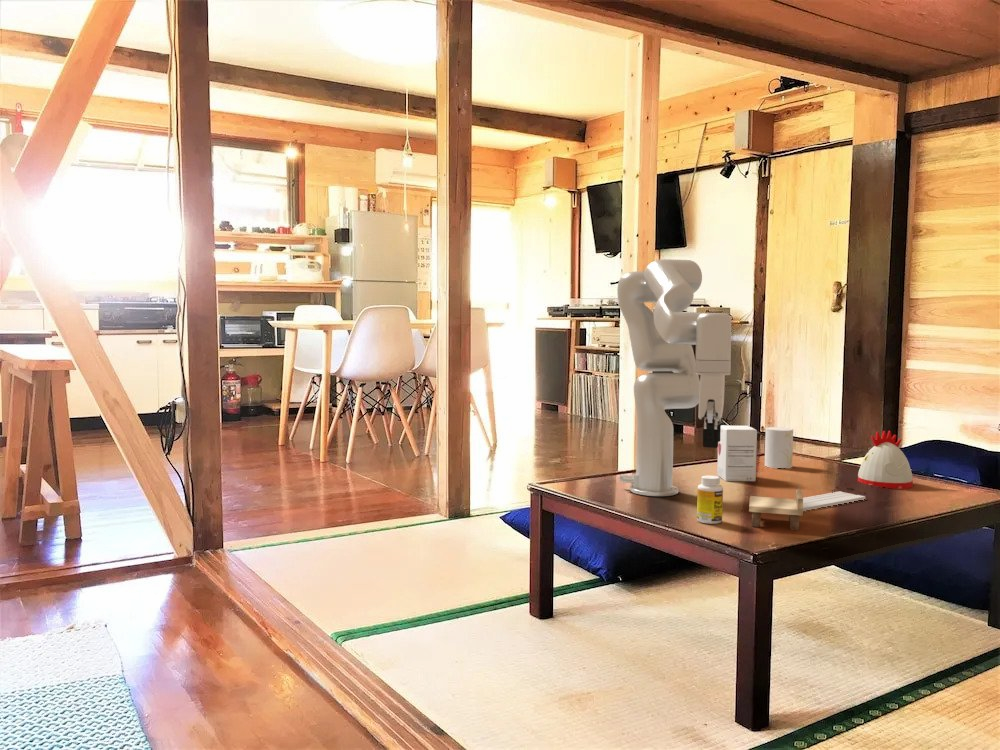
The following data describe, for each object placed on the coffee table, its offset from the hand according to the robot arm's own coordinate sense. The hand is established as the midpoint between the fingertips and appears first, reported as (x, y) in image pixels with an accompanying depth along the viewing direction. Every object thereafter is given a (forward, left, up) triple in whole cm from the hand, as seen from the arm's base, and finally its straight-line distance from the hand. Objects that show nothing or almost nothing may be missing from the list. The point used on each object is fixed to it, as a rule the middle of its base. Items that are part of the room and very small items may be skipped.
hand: (711, 444), depth 180 cm
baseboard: (+23, +28, -18) cm, 41 cm away
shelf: (+14, +3, -18) cm, 23 cm away
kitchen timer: (+44, +61, -18) cm, 77 cm away
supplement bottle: (0, 0, -18) cm, 18 cm away
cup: (+16, +79, -18) cm, 83 cm away
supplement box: (+4, +55, -18) cm, 58 cm away
